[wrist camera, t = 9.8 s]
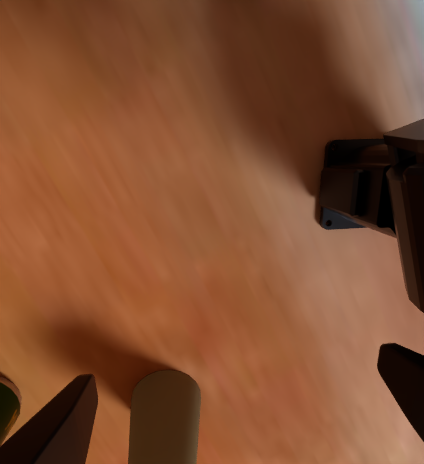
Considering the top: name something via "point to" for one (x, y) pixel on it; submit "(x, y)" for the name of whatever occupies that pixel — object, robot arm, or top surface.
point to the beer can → (8, 406)
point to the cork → (164, 419)
